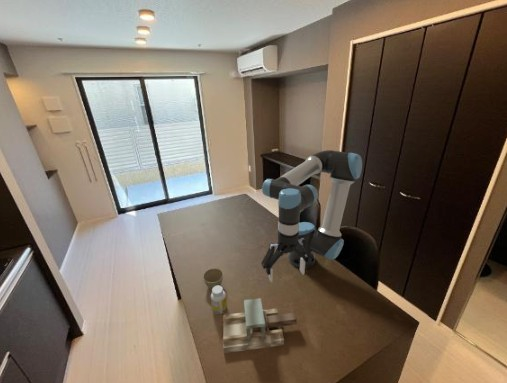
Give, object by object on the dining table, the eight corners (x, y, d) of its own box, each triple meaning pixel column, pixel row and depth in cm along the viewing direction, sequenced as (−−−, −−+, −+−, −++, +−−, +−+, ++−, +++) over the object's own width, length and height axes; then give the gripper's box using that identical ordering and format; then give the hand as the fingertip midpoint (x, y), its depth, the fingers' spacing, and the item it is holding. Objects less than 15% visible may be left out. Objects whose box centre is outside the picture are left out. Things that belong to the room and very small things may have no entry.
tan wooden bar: (293, 315, 96) (294, 307, 94) (297, 326, 91) (297, 317, 89) (251, 321, 94) (250, 312, 92) (252, 332, 89) (252, 323, 87)
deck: (276, 313, 100) (276, 293, 96) (283, 344, 88) (284, 324, 83) (224, 319, 98) (221, 300, 94) (223, 353, 85) (221, 332, 81)
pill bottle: (227, 302, 107) (225, 283, 102) (226, 314, 101) (224, 294, 96) (213, 303, 106) (211, 284, 102) (211, 315, 100) (208, 295, 96)
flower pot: (205, 295, 110) (203, 284, 108) (203, 281, 119) (202, 270, 117) (225, 291, 113) (224, 280, 110) (222, 277, 122) (221, 266, 119)
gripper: (313, 220, 89) (309, 263, 97) (252, 230, 83) (254, 276, 91) (324, 230, 82) (319, 275, 90) (258, 242, 76) (259, 290, 84)
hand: (286, 276), depth 91 cm, fingers open, 13 cm apart
